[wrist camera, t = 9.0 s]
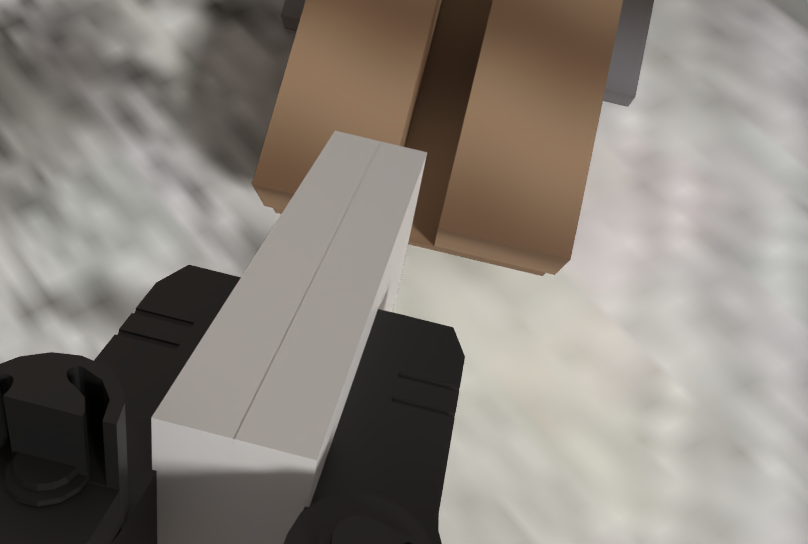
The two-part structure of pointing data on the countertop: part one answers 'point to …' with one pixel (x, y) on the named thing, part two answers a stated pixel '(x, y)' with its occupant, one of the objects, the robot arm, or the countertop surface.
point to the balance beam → (462, 110)
